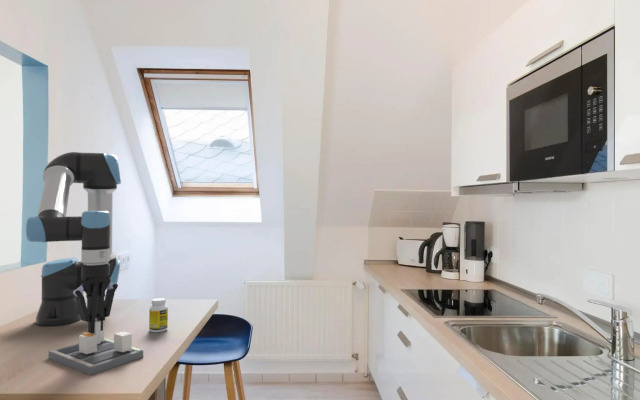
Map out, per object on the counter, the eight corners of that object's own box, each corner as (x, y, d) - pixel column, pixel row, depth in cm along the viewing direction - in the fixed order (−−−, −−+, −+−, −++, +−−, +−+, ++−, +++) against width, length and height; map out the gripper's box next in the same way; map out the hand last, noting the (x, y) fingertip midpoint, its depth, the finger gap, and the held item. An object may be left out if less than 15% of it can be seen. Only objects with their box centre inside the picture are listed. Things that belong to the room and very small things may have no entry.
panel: (48, 358, 127) (48, 351, 127) (100, 343, 140) (101, 336, 140) (90, 375, 115) (90, 367, 115) (143, 357, 128) (143, 349, 128)
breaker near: (114, 349, 127) (114, 333, 127) (123, 346, 130) (123, 331, 130) (122, 352, 125) (122, 336, 125) (131, 349, 127) (131, 333, 127)
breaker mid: (79, 351, 125) (79, 334, 125) (89, 348, 128) (89, 331, 128) (86, 354, 123) (86, 336, 123) (96, 351, 126) (96, 333, 126)
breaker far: (87, 341, 135) (87, 326, 135) (97, 338, 137) (97, 323, 137) (94, 343, 132) (94, 328, 132) (104, 340, 135) (104, 325, 135)
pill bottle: (161, 333, 151) (161, 301, 151) (145, 332, 152) (145, 300, 152) (171, 328, 157) (171, 297, 157) (155, 327, 158) (155, 297, 158)
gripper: (80, 267, 120) (80, 352, 120) (123, 261, 131) (123, 339, 131) (66, 264, 124) (66, 347, 124) (109, 259, 135) (109, 335, 135)
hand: (95, 343), depth 127 cm, fingers closed
